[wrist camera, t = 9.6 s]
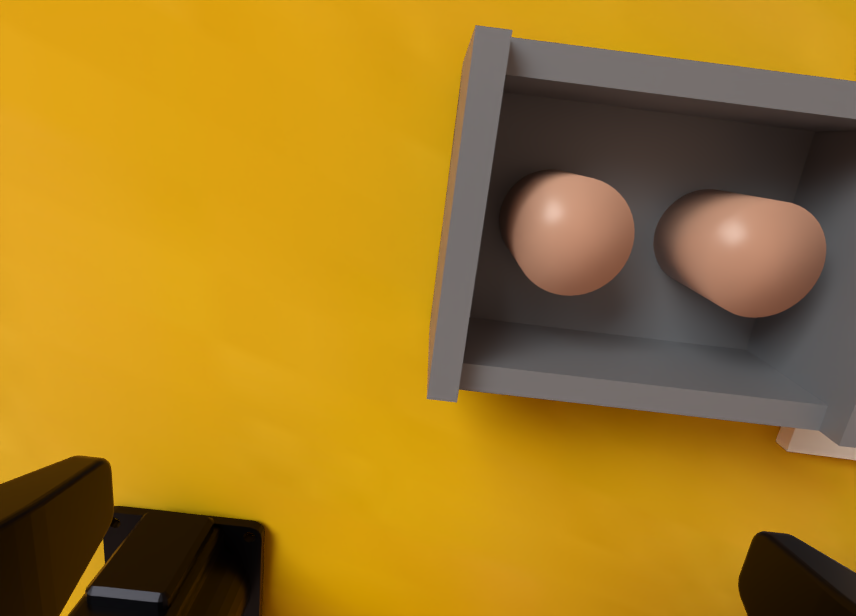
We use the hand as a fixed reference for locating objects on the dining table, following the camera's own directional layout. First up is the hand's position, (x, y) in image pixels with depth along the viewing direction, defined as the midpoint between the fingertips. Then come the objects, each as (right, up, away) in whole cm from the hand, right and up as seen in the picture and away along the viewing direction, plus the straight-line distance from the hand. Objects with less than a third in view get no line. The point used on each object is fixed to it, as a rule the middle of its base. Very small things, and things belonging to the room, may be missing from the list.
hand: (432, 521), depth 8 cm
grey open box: (+6, +6, +11) cm, 14 cm away
